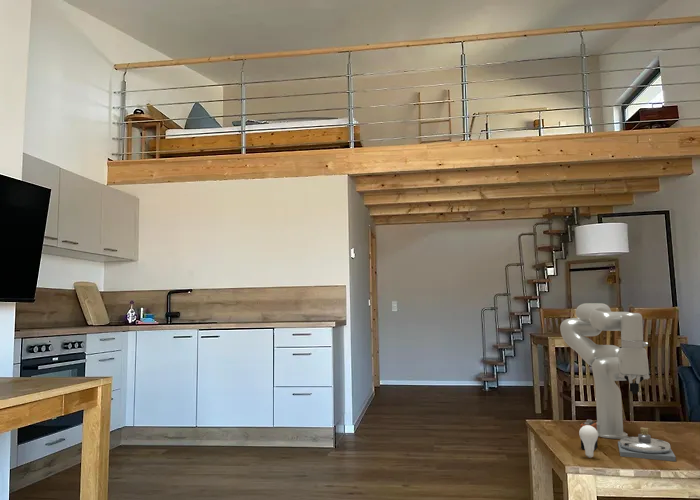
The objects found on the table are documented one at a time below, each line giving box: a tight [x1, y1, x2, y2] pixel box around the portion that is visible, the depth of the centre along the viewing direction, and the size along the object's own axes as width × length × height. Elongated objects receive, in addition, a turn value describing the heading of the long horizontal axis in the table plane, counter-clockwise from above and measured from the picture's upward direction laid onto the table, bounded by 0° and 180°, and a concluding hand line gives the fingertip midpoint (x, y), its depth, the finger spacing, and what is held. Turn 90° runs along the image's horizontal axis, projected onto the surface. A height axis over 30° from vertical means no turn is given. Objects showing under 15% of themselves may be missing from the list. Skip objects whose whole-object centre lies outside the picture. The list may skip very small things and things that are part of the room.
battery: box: [579, 419, 599, 451], centre depth 204 cm, size 4×7×10 cm, turn 142°
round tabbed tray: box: [619, 427, 672, 453], centre depth 198 cm, size 16×16×6 cm
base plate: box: [617, 440, 677, 462], centre depth 198 cm, size 17×17×2 cm
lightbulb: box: [578, 425, 599, 459], centre depth 192 cm, size 6×6×11 cm
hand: (634, 393), depth 208 cm, fingers closed
